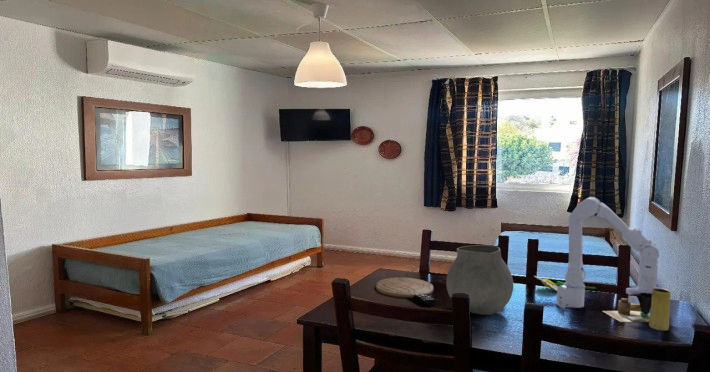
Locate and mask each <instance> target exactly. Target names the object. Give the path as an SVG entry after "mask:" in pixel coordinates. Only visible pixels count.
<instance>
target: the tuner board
mask: <svg viewBox="0 0 710 372" xmlns="http://www.w3.org/2000/svg"><path fill="white" fill-rule="evenodd" d="M602 312H603V313H604V314H606V315H608V316H610V317H611V318H613V319H615V321H616V320H617V321H618V322H620V323H627V322H629V323H631V322H632V323H638V322H639V323H642V322H643V323H646V322H647V323H649V319H650V312H649V314H644V313H642V312H639V311H630V314H628V315H626V314H621V313H618V310H602Z"/></svg>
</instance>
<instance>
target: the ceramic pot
mask: <svg viewBox="0 0 710 372" xmlns="http://www.w3.org/2000/svg"><path fill="white" fill-rule="evenodd" d="M456 252H457V253H456V257H455V259H454V260H453V262H452V264H451V265H450V267H449V269H448V272H447V274H446V290H447V293H448V296H449V298H450V299H451V297H452V294H454V293H465V294H468V295H469V298H470V312H471V313H470V312H469V313H470V314H475V315H484V316H490V315H495V314H496V313H498V312H499V311H501V310H502V309H503V308H505V307H506V306H507V304H509V302H510V300H511V298H512V295H513V292H514V279H513V275H512V272H511V270H510V269H509V267H508V265H507V264H506V262H505V261H504V260H503V258H502V252H501V248H500V247H499V246H496V245H486V244H485V245H484V244H482V245H480V244H478V245H463V246H460V247H457V248H456Z"/></svg>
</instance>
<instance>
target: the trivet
mask: <svg viewBox="0 0 710 372" xmlns="http://www.w3.org/2000/svg"><path fill="white" fill-rule="evenodd" d="M375 289H376V291H377V292H379V293H381V294H383V295H385V296H389V297H394V298H400V299H414V298H413V297H414V295H415V294H425V295H428V296H430V295H432V294H433V293H434V285H433V284H432V283H431V282H429V281H425V280H423V279H419V278H412V277H388V278H384V279H381V280H378V281H377V282H376V284H375Z"/></svg>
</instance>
